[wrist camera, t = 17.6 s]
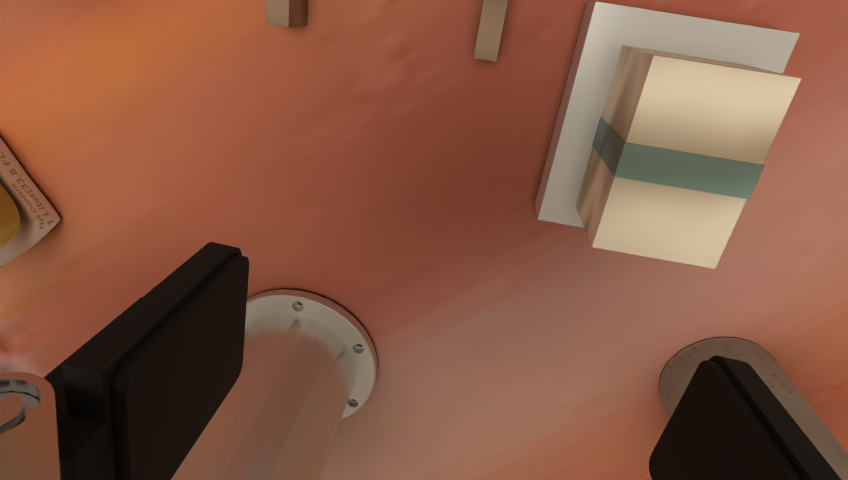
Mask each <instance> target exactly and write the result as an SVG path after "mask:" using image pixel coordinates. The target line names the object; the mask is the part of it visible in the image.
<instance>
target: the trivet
mask: <svg viewBox="0 0 848 480" xmlns="http://www.w3.org/2000/svg"><path fill="white" fill-rule="evenodd" d="M799 35H800V34H799V33H792V32H786V31H780V30H773V29H767V28H761V27H754V26H748V25H742V24H735V23H729V22H723V21H716V20H710V19H704V18H697V17H691V16H685V15H678V14H672V13H666V12H659V11H653V10H646V9H640V8H634V7H627V6H621V5H615V4H608V3H602V2H589V1H587V4H586V8H585V12H584V16H583V19H582V23H581V27H580V31H579V35H578V39H577V43H576V46H575V50H574V54H573V58H572V62H571V66H570V70H569V74H568V77H567V81H566V85H565V89H564V93H563V97H562V101H561V104H560V108H559V112H558V116H557V120H556V124H555V128H554V131H553V135H552V139H551V143H550V147H549V151H548V155H547V159H546V162H545V166H544V170H543V174H542V178H541V182H540V186H539V189H538V193H537V197H536V201H535V209H536V213H537V218H538V220H543V221H548V222H554V223H560V224H565V225H571V226H577V227H582V228H584V227H583V224H582V222H581V219H580V217H579V214H578V212H577V210H576V207H575V205H576V202H577V198H578V195H579V191H580V188H581V185H582V181H583V178H584V174H585V171H586V168H587V164H588V161H589V157H590V154H591V151H592V147H593V146H592V144H593V141H594V137H595V134H596V130H597V127H598V123H599V120H600V117H601V116H602V113H603V110H604V106H605V103H606V99H607V96H608V93H609V89H610V86H611V82H612V79H613V76H614V72H615V69H616V65H617V62H618V59H619V55H620V52H621V48H622V45H626V46H632V47H639V48H645V49H651V50H658V51H664V52H670V53H677V54H683V55H690V56H696V57H702V58H709V59H715V60H721V61H728V62H734V63H740V64H745V65H749V66H753V67H757V68H761V69H765V70H769V71H773V72H777V73H781V74H782V73H783V71H784V69H785V66H786V64H787V62H788V60H789V57H790V55H791V53H792V50H793V48H794V46H795V44H796V41H797V39H798V37H799Z"/></svg>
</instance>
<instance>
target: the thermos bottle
mask: <svg viewBox="0 0 848 480" xmlns="http://www.w3.org/2000/svg"><path fill="white" fill-rule="evenodd" d="M716 355H718V356H722V357H727V358H731V359H735V360H740V361H744V362H747V363H748V364H749V365H751V366H752V368H753V369H754V370H755V372H756V373H757V374H758V375H759V377H760V378H761V379H762V380H763V382H764V383H765V384H766V385H767V387H768V388H769V389H770V390H771V392H772V393H773V394H774V395H775V397H776V398H777V399H778V400H779V402H780V403H781V404H782V405H783V407H784V408H785V409H786V410H787V412H788V413H789V414H790V416H791V417H792V418H793V419H794V421H795V422H796V423H797V424H798V426H799V427H800V428H801V429H802V431H803V432H804V433H805V434H806V436H807V437H808V438H809V439H810V441H811V442H812V443H813V444H814V446H815V447H816V448H817V449H818V451H819V452H820V453H821V454H822V456H823V457H824V458H825V459H826V461H827V462H828V463H829V465H830V466H831V467H832V468H833V470H834V471H835V472H836V473H837V475H838V476H839V477H840V478H841V480H848V454H847V453H846V452H845V450H844V449H843V448H842V447H841V445H840V444H839V443H838V442H837V440H836V439H835V438H834V436H833V435H832V434H831V432H830V431H829V429H828V428H827V427H826V425H825V424H824V423H823V421H822V420H821V419H820V417H819V416H818V415H817V413H816V412H815V411H814V410H813V408H812V407H811V406H810V405H809V403H808V402H807V401H806V399H805V398H804V397H803V396H802V394H801V393H800V392H799V391H798V389H797V388H796V387H795V386H794V384H793V383H792V382H791V381H790V379H789V378H788V377H787V375H786V374H785V373H784V372H783V370H782V369H781V368H780V367H779V365H778V364H777V363H776V362H775V360H774V359H773V358H772V357H771V355H770V354H769V353H768V352H767V351H766V350H764V349H763V348H762V347H761V346H759V345H756V344H754V343H752V342H750V341H747V340H743V339H739V338H730V337H724V338H713V339H708V340H703V341H700V342H697V343H695V344H692V345H690V346H688V347H686V348H685V349H683V350H681V351H680V352H679V353H677V354H676V355H675V356H674V357H673V358H672V359H671V360H670V361H669V362H668V363H667V365H666V366H665V368H664V370H663V371H662V375H661V378H660V384H659V390H660V395H661V398H662V401H663V403H664V405H665V407H666V410H667V412H668V414H669V417H670V418H671V416H672V414H673V413H674V411H675V409H676V407H677V405H678V403H679V401H680V399H681V397H682V396H683V394H684V392H685V390H686V388H687V386H688V384H689V382H690V380H691V379H692V377H693V375H694V373H695V371H696V369H697V367H698V366H699V364H700V363H701V362H702V361H705V360H707V361H708V360H709V359H710V358H711V357H713V356H716Z"/></svg>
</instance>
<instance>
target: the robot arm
mask: <svg viewBox="0 0 848 480" xmlns="http://www.w3.org/2000/svg"><path fill="white" fill-rule="evenodd" d="M248 273H249V260H248V258H247V257H244V256H242V254H241V250H240V249H239V248H236V247H232V246H227V245H223V244H218V243H214V242H210V243H208V244H207V245H205V246H204V247H203V248H202V249H201V250H199V251H198V252H197V253H196V254H194V255H193V256H192V257H191V258H190V259H188V260H187V261H186V262H185V263H184V264H182V265H181V266H180V267H179V268H178V269H176V270H175V271H174V272H173V273H172V274H170V275H169V276H168V277H167V278H165V279H164V280H163V281H162V282H161V283H159V284H158V285H157V286H156V287H155V288H153V289H152V290H151V291H150V292H149V293H147V294H146V295H145V296H144V297H142V298H140V299H139V300H138V301H136V302H135V303H134V304H133V305H131V306H130V307H129V308H128V309H127V310H125V311H124V312H123V313H122V314H121V315H119V316H118V317H117V318H116V319H115V320H113V321H112V322H111V323H110V324H108V325H107V326H106V327H105V328H104V329H102V330H101V331H100V332H99V333H98V334H96V335H95V336H94V337H93V338H91V339H90V340H89V341H88V342H87V343H85V344H84V345H83V346H82V347H81V348H79V349H78V350H77V351H76V352H74V353H73V354H72V355H71V356H70V357H68V358H67V359H66V360H65V361H64V362H62V363H61V364H60V365H59V366H57V367H56V368H55V369H54V370H53V371H51V372H50V373H49V374H48V375H47V376H45V377H44V378H43V377H40V376H37V375H34V374H31V373H23V372H4V373H0V480H320V477H321V474H322V472H323V469H324V466H325V463H326V460H327V457H328V455H329V452H330V449H331V446H332V443H333V441H334V438H335V435H336V432H337V429H338V427H339V424H340V421H341V420H342V419H344V418H346V417H349V416H350V415H352V414H353V413H355V412H356V411H358V410H359V409H360V408H361V407H362V406H363V405H364V403H365V402H366V401H367V400H368V398H369V396H370V394H371V392H372V390H373V387H374V384H375V381H376V376H377V368H378V365H377V356H376V352H375V349H374V346H373V343H372V341H371V339H370V337H369V336H368V334H367V332H366V331H365V329H364V328H363V327H362V326H361V324H360V323H359V322H358V321H357V320H356V319H355V318H354V317H353V316H352V315H351V314H350V313H348V312H347V311H346V310H345V309H344V308H342V307H340V306H339V305H337V304H335V303H334V302H332V301H330V300H328V299H326V298H323V297H321V296H318V295H316V294H313V293H308V292H304V291H300V290H287V289H281V290H272V291H266V292H263V293H260V294H257V295H254V296H252V297H250V298H249V299H247V289H248ZM649 471H650V475H651V478H652V480H841V478H840V477H839V476H838V475H837V473H836V472H835V471H834V470H833V468H832V467H831V466H830V465H829V463H828V462H827V461H826V459H825V458H824V457H823V456H822V454H821V453H820V452H819V451H818V449H817V448H816V447H815V446H814V444H813V443H812V442H811V441H810V439H809V438H808V437H807V436H806V434H805V433H804V432H803V431H802V429H801V428H800V427H799V426H798V424H797V423H796V422H795V421H794V419H793V418H792V417H791V416H790V414H789V413H788V412H787V410H786V409H785V408H784V407H783V405H782V404H781V403H780V402H779V400H778V399H777V398H776V397H775V395H774V394H773V393H772V392H771V390H770V389H769V388H768V387H767V385H766V384H765V383H764V382H763V380H762V379H761V378H760V377H759V375H758V374H757V373H756V372H755V370H754V369H753V368H752V366H751V365H749V364H748V363H747V362H744V361H740V360H735V359H731V358H727V357H722V356H718V355H716V356H713V357H711V358H710V359H709V360H708V361H707V360H705V361H702V362H701V363H700V364H699V366H698V367H697V369H696V371H695V373H694V375H693V377H692V379H691V380H690V382H689V384H688V386H687V388H686V390H685V392H684V394H683V396H682V397H681V399H680V401H679V403H678V405H677V407H676V409H675V411H674V413H673V414H672V416H671V418H670V420H669V422H668V424H667V426H666V428H665V429H664V431H663V433H662V435H661V437H660V439H659V441H658V443H657V445H656V446H655V448H654V450H653V452H652V454H651V457H650V461H649Z"/></svg>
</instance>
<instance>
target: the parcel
mask: <svg viewBox="0 0 848 480" xmlns="http://www.w3.org/2000/svg"><path fill="white" fill-rule="evenodd" d="M800 81H801V78H797V77H793V76H789V75H785V74H781V73H777V72H773V71H769V70H765V69H761V68H757V67H753V66H749V65H745V64H740V63H734V62H728V61H721V60H715V59H709V58H702V57H696V56H690V55H683V54H677V53H670V52H664V51H658V50H651V49H645V48H639V47H632V46H626V45H622V48H621V52H620V55H619V59H618V62H617V65H616V69H615V72H614V76H613V79H612V82H611V86H610V89H609V93H608V96H607V99H606V103H605V106H604V110H603V113H602V116H601V117H600V120H599V123H598V127H597V130H596V134H595V137H594V141H593V144H592V146H593V147H592V151H591V154H590V157H589V161H588V164H587V168H586V171H585V174H584V178H583V181H582V185H581V188H580V191H579V195H578V198H577V202H576V205H575V207H576V210H577V212H578V214H579V217H580V219H581V222H582V224H583V227H584V229H585V231H586V234H587V236H588V239H589V241H590V243H591V246H592V247H594V248H600V249H605V250H611V251H617V252H622V253H628V254H634V255H639V256H645V257H651V258H656V259H662V260H668V261H673V262H679V263H685V264H691V265H696V266H702V267H708V268H713V269H715V268H716V266H717V264H718V262H719V259H720V257H721V255H722V253H723V251H724V248H725V246H726V244H727V242H728V240H729V237H730V235H731V233H732V231H733V229H734V226H735V224H736V222H737V220H738V217H739V215H740V213H741V211H742V209H743V206H744V204H745V202H746V200H747V199H750V197H751V195H752V192H753V190H754V188H755V186H756V184H757V181H758V179H759V177H760V175H761V173H762V170H763V168H764V165H763V162H764V160H765V158H766V156H767V154H768V151H769V149H770V147H771V145H772V143H773V140H774V138H775V136H776V134H777V132H778V129H779V127H780V125H781V123H782V120H783V118H784V116H785V114H786V112H787V109H788V107H789V105H790V103H791V101H792V98H793V96H794V94H795V92H796V90H797V87H798V85H799V83H800Z"/></svg>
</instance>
